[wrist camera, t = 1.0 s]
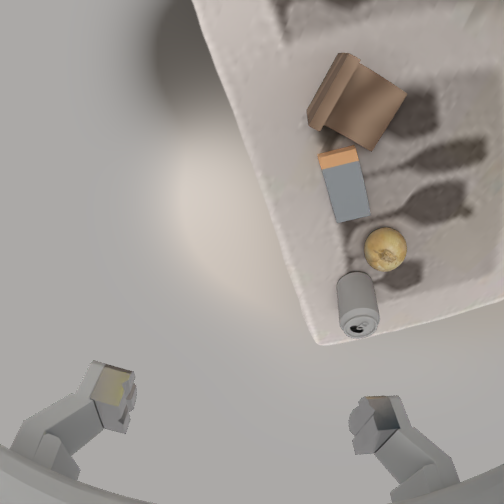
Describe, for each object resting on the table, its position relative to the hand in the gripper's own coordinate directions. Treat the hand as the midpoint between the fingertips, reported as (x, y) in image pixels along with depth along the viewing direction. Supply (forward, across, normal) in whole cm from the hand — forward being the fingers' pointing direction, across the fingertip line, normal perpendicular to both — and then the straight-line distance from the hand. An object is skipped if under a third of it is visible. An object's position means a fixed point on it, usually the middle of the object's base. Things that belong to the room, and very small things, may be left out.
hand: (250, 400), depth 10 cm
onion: (+43, -26, +8) cm, 51 cm away
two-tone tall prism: (+42, -15, 0) cm, 44 cm away
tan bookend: (+39, -13, -14) cm, 43 cm away
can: (+45, -25, +19) cm, 55 cm away
